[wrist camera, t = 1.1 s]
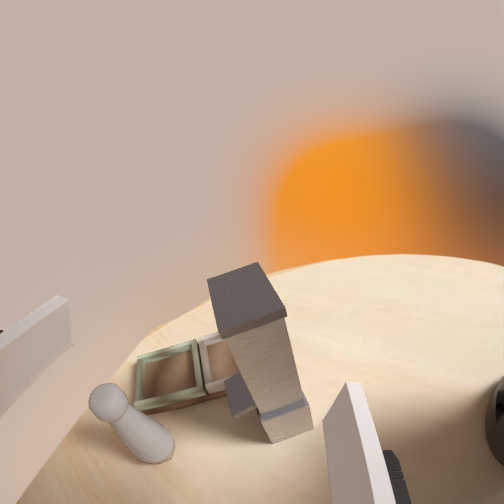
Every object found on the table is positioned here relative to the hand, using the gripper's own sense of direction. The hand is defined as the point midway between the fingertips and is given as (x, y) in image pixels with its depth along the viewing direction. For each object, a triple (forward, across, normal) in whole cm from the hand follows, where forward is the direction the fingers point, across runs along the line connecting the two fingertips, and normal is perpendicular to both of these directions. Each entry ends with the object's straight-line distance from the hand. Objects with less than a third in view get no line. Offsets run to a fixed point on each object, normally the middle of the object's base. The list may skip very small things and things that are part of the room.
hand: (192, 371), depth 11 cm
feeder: (+15, +8, -18) cm, 25 cm away
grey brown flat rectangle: (+23, -1, -20) cm, 31 cm away
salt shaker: (+10, -4, -25) cm, 28 cm away
